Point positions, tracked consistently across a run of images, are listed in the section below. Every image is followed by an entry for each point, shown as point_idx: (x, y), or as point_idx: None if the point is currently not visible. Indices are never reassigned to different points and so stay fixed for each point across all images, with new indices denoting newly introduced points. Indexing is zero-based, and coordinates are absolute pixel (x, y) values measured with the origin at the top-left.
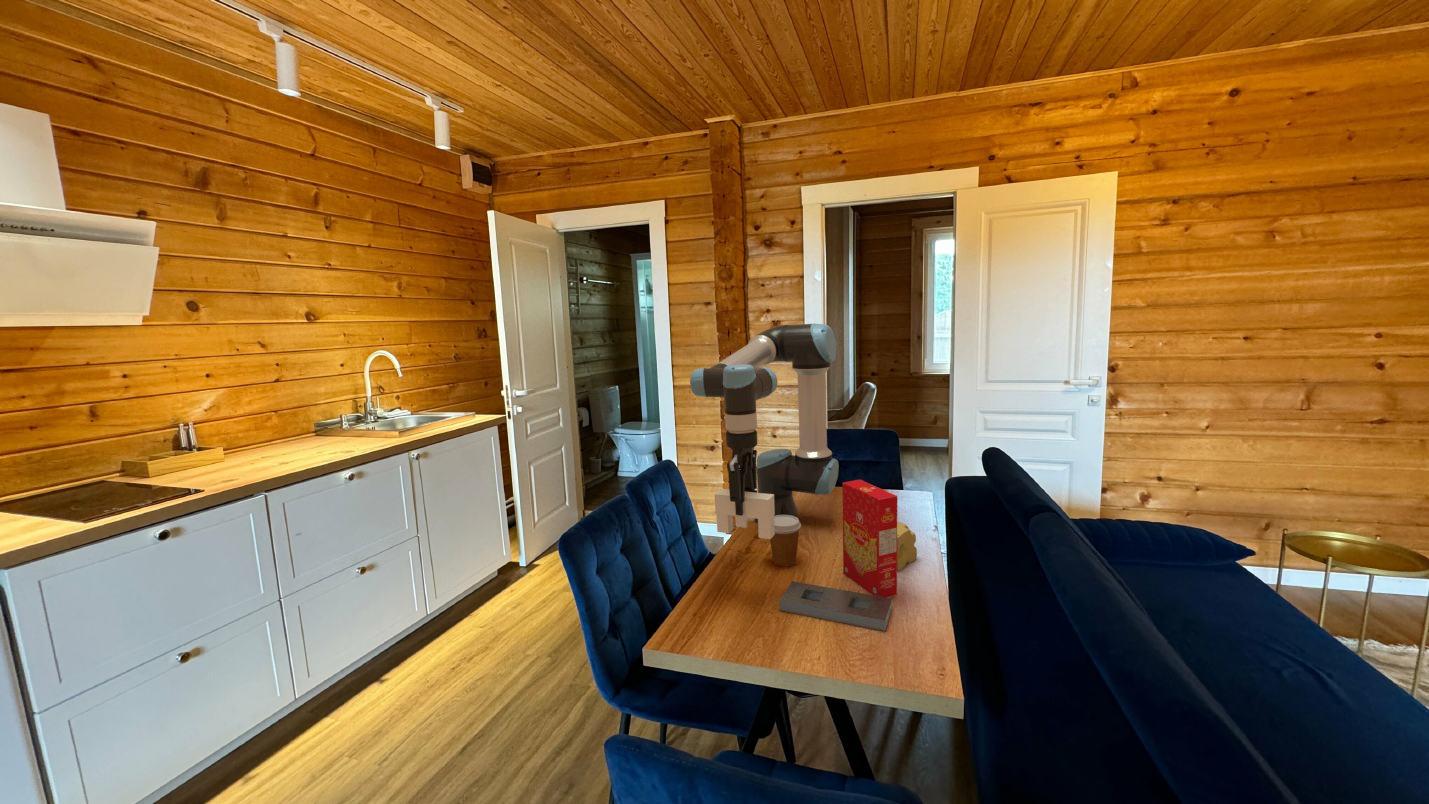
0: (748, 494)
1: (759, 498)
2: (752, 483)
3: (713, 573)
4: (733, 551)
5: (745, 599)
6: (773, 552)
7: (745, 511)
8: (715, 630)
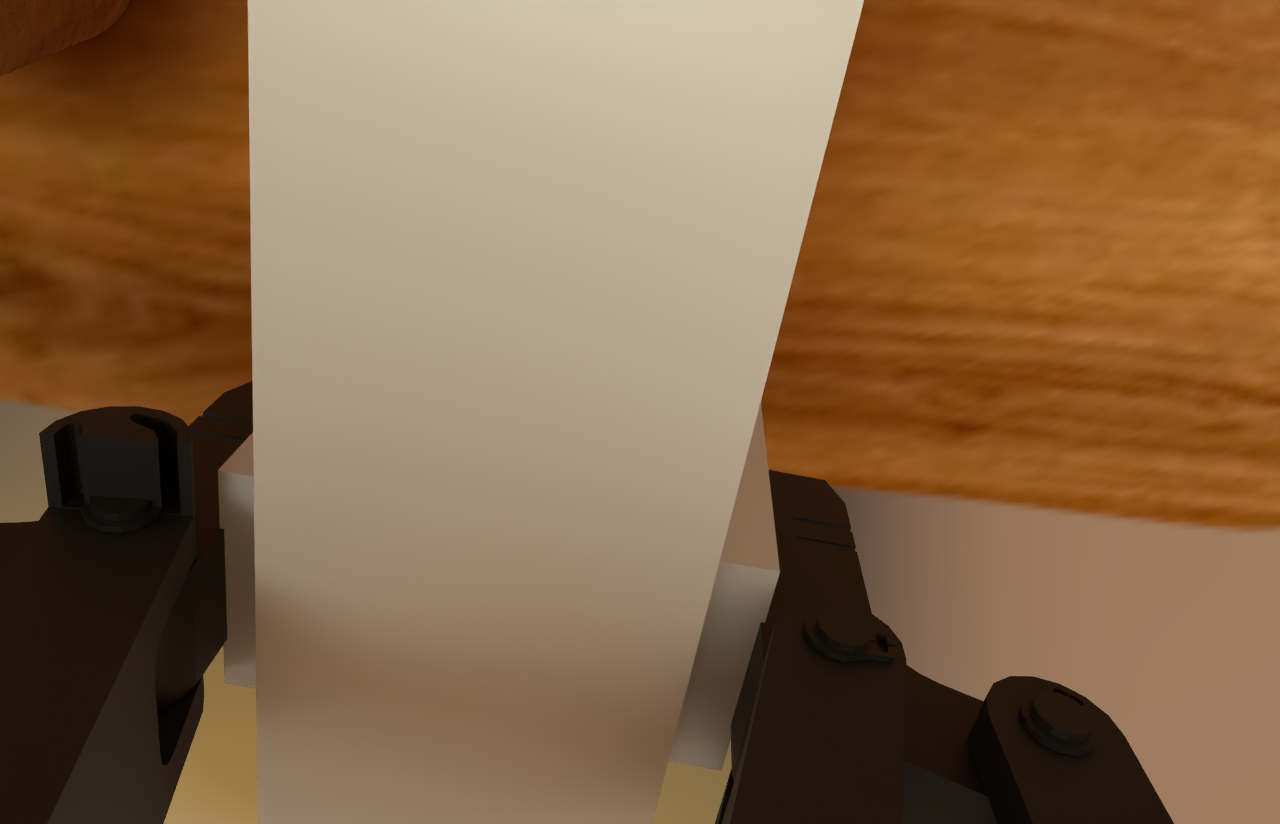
0: (459, 594)
1: (758, 251)
2: (18, 691)
3: None
4: (58, 382)
5: None
6: (69, 36)
7: (762, 452)
8: (1155, 263)
